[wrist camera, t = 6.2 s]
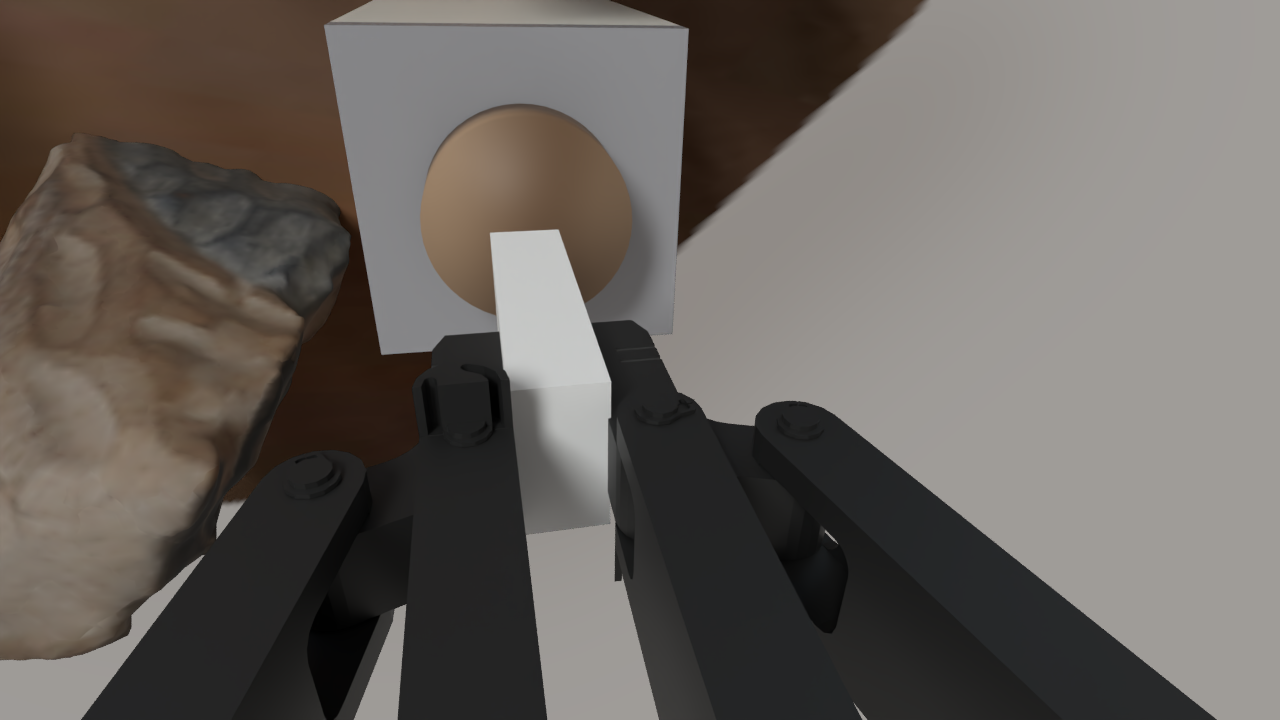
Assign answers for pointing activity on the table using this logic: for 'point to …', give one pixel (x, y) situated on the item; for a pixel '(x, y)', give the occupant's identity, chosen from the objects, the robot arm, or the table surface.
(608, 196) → the tan rounded piece
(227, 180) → the owl
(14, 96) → the table surface
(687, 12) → the table surface
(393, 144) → the short press
